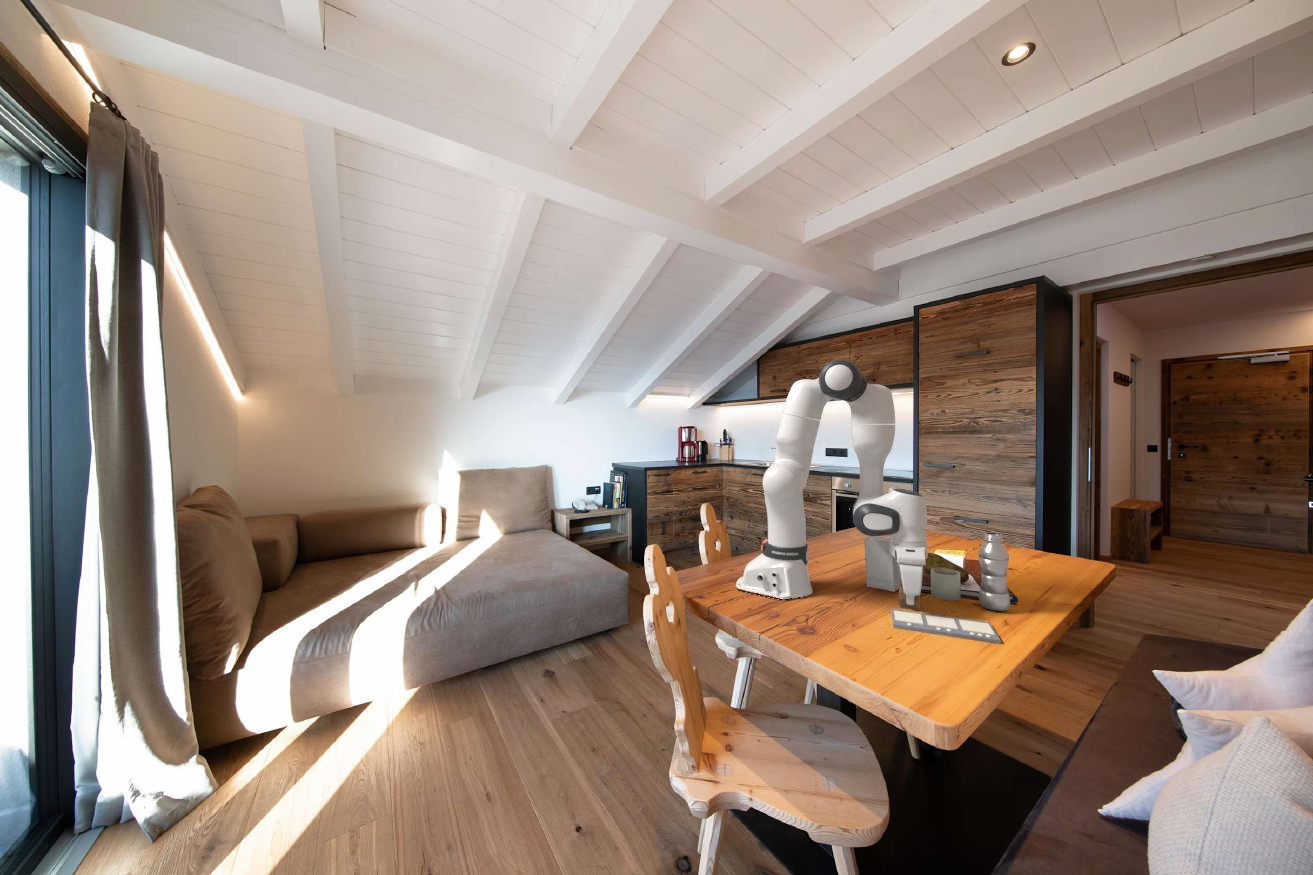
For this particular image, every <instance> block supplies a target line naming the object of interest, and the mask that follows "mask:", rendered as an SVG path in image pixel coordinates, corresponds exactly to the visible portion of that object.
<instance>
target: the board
mask: <svg viewBox="0 0 1313 875" xmlns="http://www.w3.org/2000/svg"><path fill="white" fill-rule="evenodd" d="M891 618H892V625H893V628H895V629H900V630H902V629H903V630H908V631H914V632H919V633H920V632H921V633H927V634H933V635H940V636H946V637H952V638H953V637H954V638H960V639H967V640H972V641H979V642H986V643H992V642H993V643H994V644H997V643H998V645H999V644H1000V645H1001V644H1002V640H1001V638H1000V637H999V635H998V634H997V632H996V631H995V629H994V627H993V626H992V624H991V623H990V622H989V621H984V620H983V621H982V620H976V619H969V618H961V617H954V616H946V615H940V614H932V613H925V612H917V611H911V610H903V609H897V608H891ZM993 643H992V644H993Z"/></svg>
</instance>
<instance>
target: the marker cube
mask: <svg viewBox="0 0 1313 875" xmlns="http://www.w3.org/2000/svg"><path fill="white" fill-rule="evenodd" d="M920 600H921V599H920V595H915V597H914V605H908V604H907V603H906V594H905V593H904V590H903V585H901V586H899V589H898V604H899V608H900V609H907V610H914V611H920V609H921V608H920V607H921V606H920Z"/></svg>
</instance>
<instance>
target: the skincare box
mask: <svg viewBox="0 0 1313 875" xmlns="http://www.w3.org/2000/svg"><path fill="white" fill-rule="evenodd" d="M863 542H864V544H863V546H864V556H865V557H864V560H865V562H864V563H865V576H866V587H869V588H874V589H879V590H883V591H888V592H893V593H895V592H896V591H897V590H898V591H899V586H902V581H901V577H900V572H899V564H898V563H897V561H896V560H895V558H894V556H892V555H891V554H890V537H884V536H868V537H866V538H864V540H863Z"/></svg>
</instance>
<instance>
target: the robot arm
mask: <svg viewBox="0 0 1313 875" xmlns="http://www.w3.org/2000/svg"><path fill="white" fill-rule="evenodd" d="M838 401H839V402H840V401H844V402H845V403H847V404H848V406H849V408H850V417H851V418H850V433H851V440H852V447H853V450H854V452H855V454H856V457H857V460H858V464H859V492H858V496H857V498H856V500H855V501H854V503H853V506H852V522H853V524H854V527H855V529H857V530H858V531H859V532H860V533H861V534H863V535H865V536H868V537H870V536H876V537H884V536H889V538H890V554H891V555H892V556H894V558H895V560H896V561H897V563H898V564H899V572H900V582H901V586H903V590H904V593H905V594H906V603H907V604H908V605H914V597H915V595H919V596H921V592H922V587H923V586H922V585H923V574H924V571H923V565H926V559H927V557H928V553H929V552H928V536H927V534H926V533H927V532H926V530H927V527H928V511H927V504H926V500H925V498H924V497H923V495H921V494H920V493H918V492H916V491H914V490H910V489H905V488H893V489H892V490H891V491H890V492H888V493H885V494H884V470H885V467H884V466H885V463H886V460H887V458H888V456H889V454H890V453H891V451H892V448H893V445H894V440H895V434H896V409H895V404H894V398H893V394H892V390H890V388H888V387H887V386H885V385H883V384H879V383H878V384H877V383H868V381H867V380H866V378H865V376H864V375H863V372H862V371H861V370H860V368H859V367H858V366H857V365H856V364H855V363H854V362H853V361H851V360H848V359H845V358H843V359H842V358H841V359H840V358H837V359H833V360H831V361H830V362H828V363H826V364H825V365H824V366H823V368H822V369H821V370H820V372H819V375H818V377H817V378H815V379H807V378H806V379H805V378H804V379H800V380H797V381H795V382H794V383H793V384H792V386H791V387H790V390H789V392H788V395H787V397H786V400H785V402H784V406H783V408H782V409H783V410H782V413H781V417H780V421H779V425H778V430H777V434H776V437H775V438H776V440H775V441H776V443H775V451H774V458H773V463H772V465H770V466H769V467H768V468H766V470H765V472H764V474H763V476H762V488H763V494H764V495H763V496H764V502H765V507H766V508H765V509H766V517H767V538H765V539H764V540H763V541H762V542H761V546H760V550H761V553H760V554H759V555H758V556H756V557H755V558H753V559H752V560H751V561H749V562H748V563H747V564H746V565H745V568H744V570H743V571H744V572H743V576H740V577H739V578H738V580H736V583H735V588H736V587H737V588H738V589H742V590H745V591H750V592H754V593H759V594H764V595H769V596H773V597H776V598H780V599H789V598H792V599H799V598H798V597H800V598H805V597H808V596H811V594H813V587H812V584H811V580H810V575H809V570H808V568H809V567H808V563H809V547H808V544H807V534H806V533H807V529H806V528H807V526H806V525H807V523H806V521H807V520H806V519H807V517H806V514H805V504H804V494H803V492H804V489H805V488H806V485H807V482H808V478H809V474H810V471H811V465H812V460H813V453H814V449H815V443H816V440H817V436H818V432H819V428H820V423H821V420H822V415H823V413H824V409H825V406H826V405H827V403H828V402H838ZM804 596H805V597H804ZM789 600H790V599H789Z"/></svg>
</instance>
